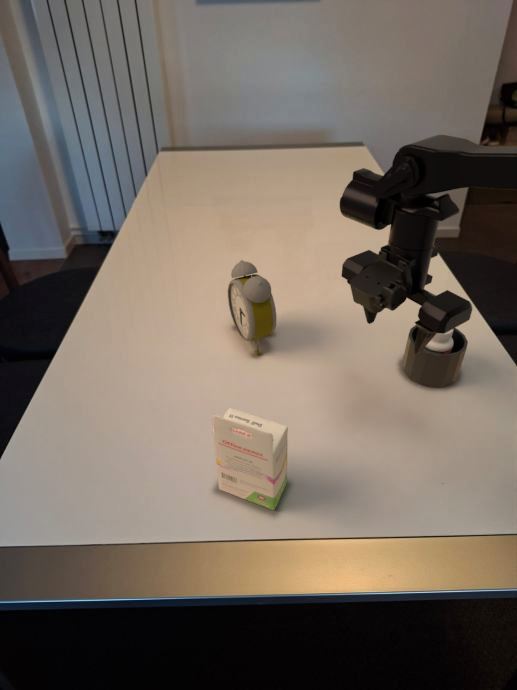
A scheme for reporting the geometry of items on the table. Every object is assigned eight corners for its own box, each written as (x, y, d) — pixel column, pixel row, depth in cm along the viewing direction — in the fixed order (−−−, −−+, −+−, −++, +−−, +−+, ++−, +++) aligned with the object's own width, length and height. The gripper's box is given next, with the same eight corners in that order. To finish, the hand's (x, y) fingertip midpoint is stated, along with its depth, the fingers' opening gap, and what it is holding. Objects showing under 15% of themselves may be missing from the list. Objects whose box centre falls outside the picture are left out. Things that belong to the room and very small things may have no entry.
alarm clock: (228, 326, 99) (224, 259, 89) (260, 318, 101) (258, 251, 91) (251, 360, 90) (249, 289, 81) (285, 350, 92) (286, 280, 83)
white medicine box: (288, 483, 69) (291, 408, 60) (274, 512, 65) (275, 436, 56) (233, 463, 72) (227, 388, 63) (216, 489, 68) (208, 414, 59)
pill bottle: (440, 381, 84) (452, 340, 79) (410, 371, 86) (419, 330, 81) (449, 364, 87) (461, 324, 82) (420, 354, 90) (430, 314, 84)
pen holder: (460, 360, 89) (470, 329, 85) (453, 393, 82) (463, 361, 78) (408, 347, 92) (415, 317, 88) (397, 378, 86) (403, 346, 81)
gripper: (316, 232, 66) (310, 326, 76) (427, 291, 54) (404, 394, 64) (375, 211, 71) (363, 302, 81) (489, 261, 59) (458, 361, 69)
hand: (392, 337), depth 74 cm, fingers open, 9 cm apart
